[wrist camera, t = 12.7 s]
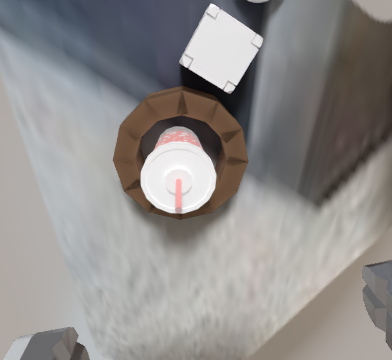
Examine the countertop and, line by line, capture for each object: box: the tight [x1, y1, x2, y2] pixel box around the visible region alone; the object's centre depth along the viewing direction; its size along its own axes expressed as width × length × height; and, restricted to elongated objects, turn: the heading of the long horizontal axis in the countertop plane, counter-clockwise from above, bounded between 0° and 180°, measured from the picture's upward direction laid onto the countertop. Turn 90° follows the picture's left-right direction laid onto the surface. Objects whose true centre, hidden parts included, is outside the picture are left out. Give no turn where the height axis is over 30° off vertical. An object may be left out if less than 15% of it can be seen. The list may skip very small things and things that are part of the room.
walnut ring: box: [113, 86, 248, 220], centre depth 32 cm, size 12×12×4 cm
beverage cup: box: [141, 126, 216, 213], centre depth 27 cm, size 6×6×14 cm
